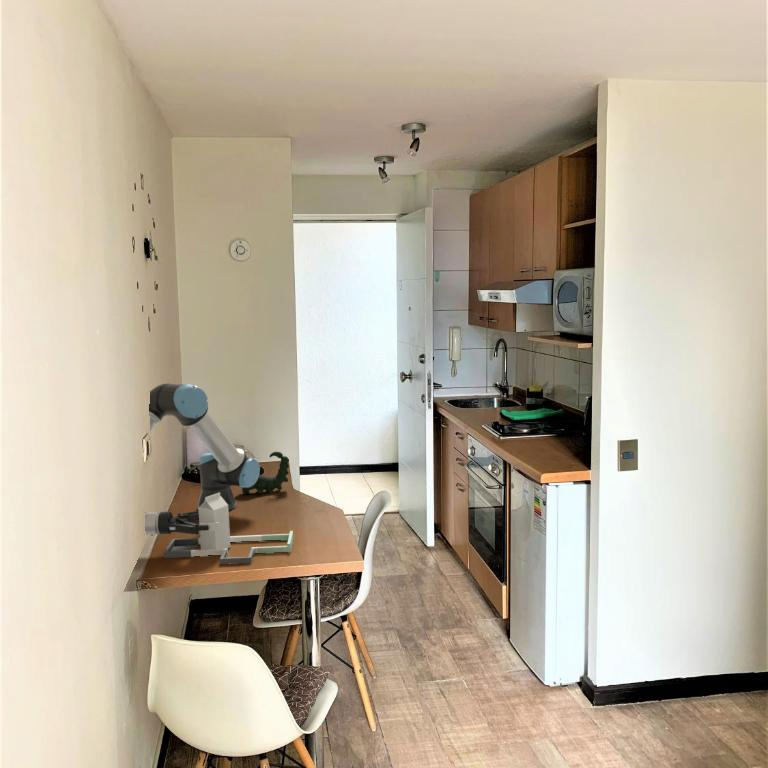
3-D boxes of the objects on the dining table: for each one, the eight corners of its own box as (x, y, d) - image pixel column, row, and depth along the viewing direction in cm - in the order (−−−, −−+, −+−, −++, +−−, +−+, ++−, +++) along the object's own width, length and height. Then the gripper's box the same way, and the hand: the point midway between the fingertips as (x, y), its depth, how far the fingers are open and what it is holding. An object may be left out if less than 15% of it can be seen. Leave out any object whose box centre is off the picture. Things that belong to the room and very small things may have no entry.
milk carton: (230, 547, 265) (227, 493, 262) (216, 553, 259) (213, 498, 256) (215, 544, 268) (212, 491, 266) (200, 550, 262) (197, 496, 260)
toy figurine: (286, 491, 344) (229, 491, 338) (288, 449, 342) (231, 448, 336) (288, 496, 335) (230, 496, 329) (290, 453, 333) (231, 453, 327)
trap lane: (173, 544, 270) (172, 536, 269) (293, 539, 272) (292, 530, 271) (157, 567, 247) (156, 558, 246) (288, 561, 249) (288, 552, 249)
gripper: (168, 522, 274) (228, 520, 275) (150, 545, 249) (216, 542, 250) (167, 502, 273) (227, 499, 274) (149, 523, 249) (215, 520, 250)
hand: (222, 520), depth 262 cm, fingers open, 13 cm apart
